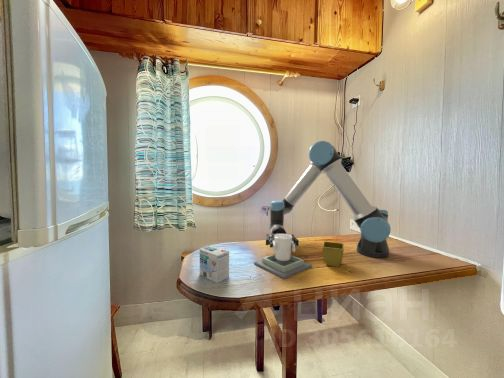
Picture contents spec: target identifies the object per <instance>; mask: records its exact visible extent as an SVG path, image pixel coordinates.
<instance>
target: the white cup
mask: <svg viewBox="0 0 504 378" xmlns="http://www.w3.org/2000/svg"><path fill="white" fill-rule="evenodd" d="M291 235H292V234H276V235H274V242H275V245H276V251H275V252H274V254H275V258H276V259H277V260H280V261H287V260H289V259H290V255H292V254H291V253H292V248H291V247H292V236H291Z"/></svg>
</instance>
